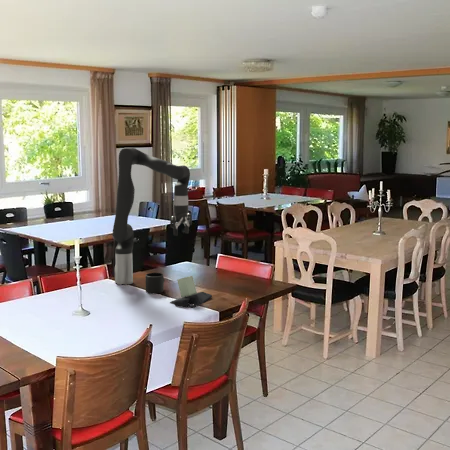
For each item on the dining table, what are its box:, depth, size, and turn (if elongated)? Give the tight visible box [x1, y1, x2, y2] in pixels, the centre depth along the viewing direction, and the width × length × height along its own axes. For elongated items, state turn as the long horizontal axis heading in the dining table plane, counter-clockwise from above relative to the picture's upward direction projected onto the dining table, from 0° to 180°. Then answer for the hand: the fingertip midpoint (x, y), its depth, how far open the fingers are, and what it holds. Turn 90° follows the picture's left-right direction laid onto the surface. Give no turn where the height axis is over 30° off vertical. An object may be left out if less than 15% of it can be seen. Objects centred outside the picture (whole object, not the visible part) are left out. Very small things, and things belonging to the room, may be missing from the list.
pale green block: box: [176, 275, 198, 298], centre depth 279 cm, size 6×6×9 cm
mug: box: [144, 272, 165, 294], centre depth 296 cm, size 9×12×9 cm
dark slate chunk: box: [169, 291, 213, 309], centre depth 279 cm, size 15×22×5 cm
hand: (181, 234), depth 295 cm, fingers open, 8 cm apart
